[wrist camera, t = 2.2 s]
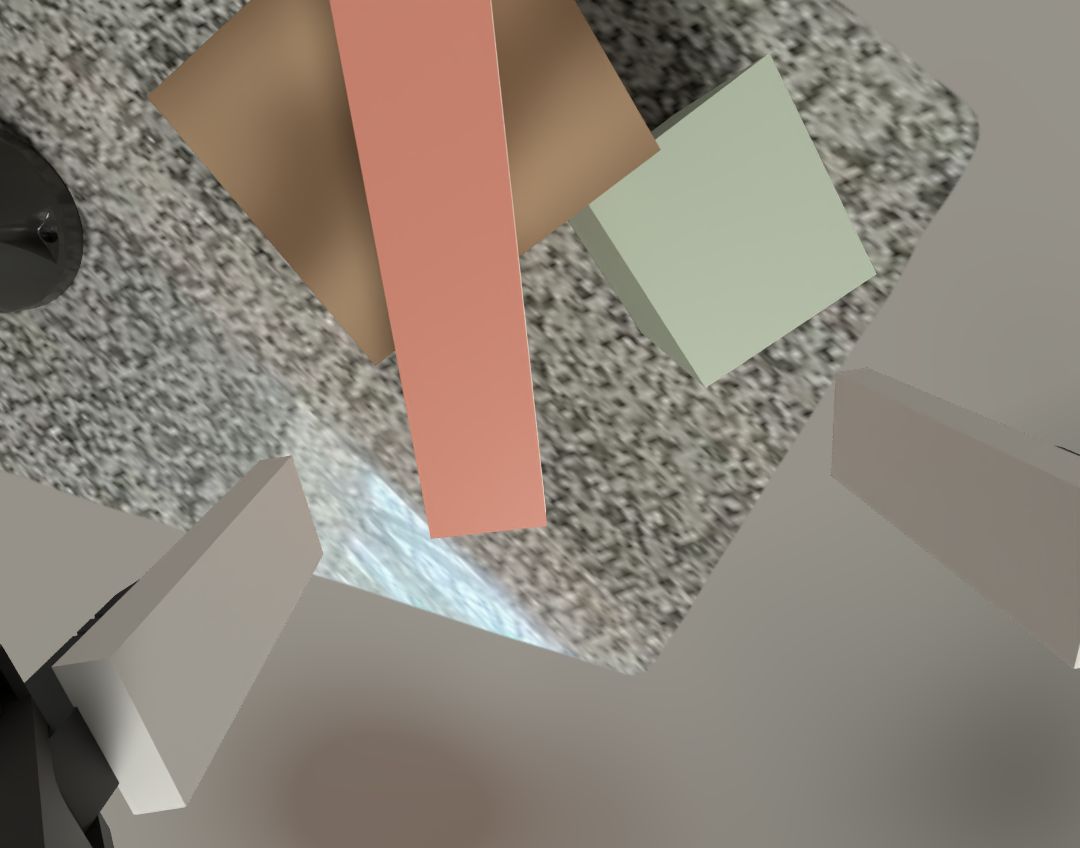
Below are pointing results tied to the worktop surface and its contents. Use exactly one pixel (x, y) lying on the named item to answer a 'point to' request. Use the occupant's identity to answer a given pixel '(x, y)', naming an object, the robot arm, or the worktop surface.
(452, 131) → the salmon pink bar
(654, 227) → the sage step
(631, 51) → the worktop surface
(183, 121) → the walnut block
